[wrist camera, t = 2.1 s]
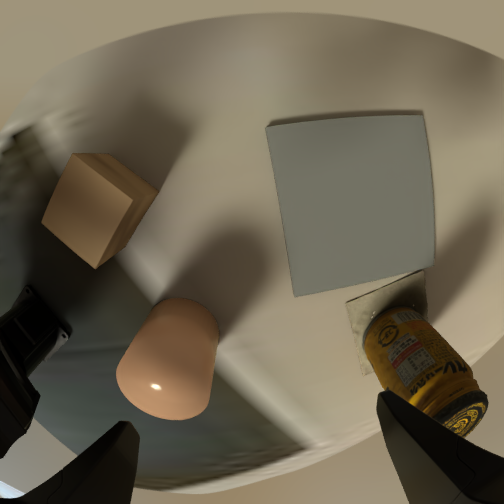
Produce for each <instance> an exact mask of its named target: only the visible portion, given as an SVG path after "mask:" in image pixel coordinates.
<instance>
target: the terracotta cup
mask: <svg viewBox="0 0 504 504" xmlns="http://www.w3.org/2000/svg"><path fill="white" fill-rule="evenodd" d="M218 340H219V328H218V324H217V322H216V320H215V318H214V317H213V315H212V314H211V313H210V312H209V311H208V310H207V309H206V308H205V307H203V306H202V305H200V304H199V303H197V302H194V301H192V300H189V299H184V298H171V299H167V300H164V301H162V302H160V303H158V304H157V305H156V306H155V307H154V308H153V309H152V310H151V312H150V313H149V315H148V316H147V318H146V320H145V321H144V323H143V324H142V326H141V328H140V329H139V331H138V333H137V334H136V336H135V338H134V339H133V341H132V343H131V344H130V346H129V348H128V349H127V351H126V353H125V354H124V356H123V358H122V359H121V361H120V363H119V365H118V367H117V372H116V377H117V382H118V385H119V387H120V389H121V391H122V393H123V394H124V395H125V397H126V398H127V399H128V400H129V401H130V402H131V403H132V404H134V405H135V406H136V407H138V408H139V409H141V410H142V411H144V412H146V413H148V414H150V415H153V416H156V417H159V418H163V419H169V420H183V419H188V418H192V417H194V416H196V415H198V414H200V413H201V412H202V411H203V410H204V409H205V408H206V406H207V405H208V402H209V398H210V391H211V385H212V378H213V372H214V365H215V359H216V353H217V347H218Z"/></svg>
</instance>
